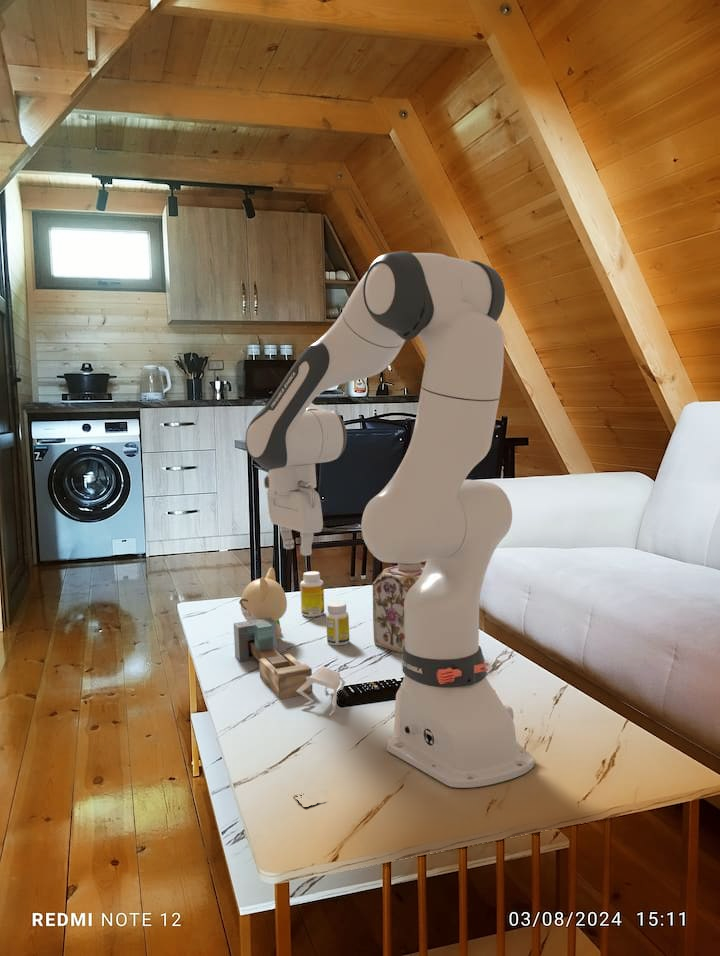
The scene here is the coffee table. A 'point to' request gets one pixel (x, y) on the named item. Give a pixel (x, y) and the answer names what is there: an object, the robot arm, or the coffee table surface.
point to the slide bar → (265, 646)
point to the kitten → (264, 600)
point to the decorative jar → (392, 604)
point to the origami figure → (323, 683)
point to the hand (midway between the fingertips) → (297, 551)
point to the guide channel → (285, 677)
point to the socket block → (250, 637)
